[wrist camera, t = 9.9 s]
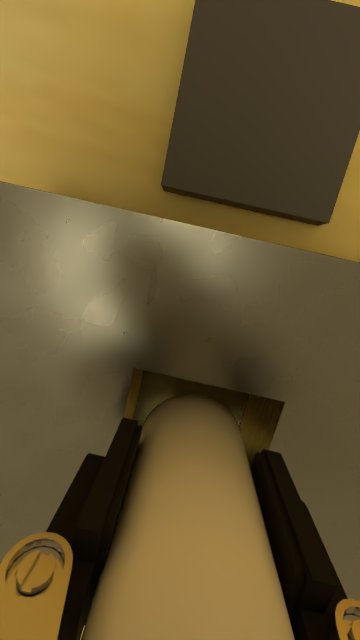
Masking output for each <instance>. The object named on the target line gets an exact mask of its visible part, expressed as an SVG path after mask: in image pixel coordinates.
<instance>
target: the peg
mask: <svg viewBox="0 0 360 640" xmlns="http://www.w3.org/2000/svg"><path fill="white" fill-rule="evenodd" d="M81 640H295V638H294V634H293V630H292V627H291V623H290V619H289V615H288V611H287V608H286V604H285V600H284V596H283V592H282V588H281V585H280V581H279V577H278V573H277V569H276V565H275V562H274V558H273V554H272V550H271V546H270V542H269V539H268V535H267V531H266V527H265V523H264V519H263V516H262V512H261V508H260V504H259V500H258V496H257V493H256V489H255V485H254V481H253V477H252V473H251V470H250V466H249V462H248V458H247V454H246V450H245V447H244V443H243V439H242V435H241V431H240V428H239V425H238V422H237V421H236V419H235V417H234V416H233V414H232V413H231V412H230V411H229V410H228V409H227V408H226V407H225V406H223V405H222V404H221V403H219V402H217V401H216V400H213V399H211V398H208V397H205V396H201V395H190V394H189V395H180V396H175V397H172V398H169V399H167V400H165V401H163V402H162V403H160V404H159V405H157V406H156V407H155V408H154V409H153V410H152V411H151V412H150V414H149V415H148V417H147V418H146V420H145V423H144V426H143V429H142V433H141V438H140V442H139V447H138V450H137V454H136V457H135V461H134V464H133V468H132V471H131V475H130V478H129V482H128V486H127V489H126V493H125V496H124V500H123V503H122V507H121V510H120V514H119V517H118V521H117V524H116V528H115V531H114V535H113V538H112V542H111V545H110V549H109V552H108V556H107V559H106V563H105V566H104V569H103V571H102V573H101V575H100V577H99V580H98V583H97V587H96V590H95V594H94V597H93V600H92V604H91V607H90V611H89V614H88V618H87V621H86V624H85V628H84V631H83V635H82V638H81Z"/></svg>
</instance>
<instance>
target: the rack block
mask: <svg viewBox="0 0 360 640" xmlns="http://www.w3.org/2000/svg"><path fill="white" fill-rule="evenodd" d="M143 370H146V371H150V372H155V373H159V374H164V375H168V376H172V377H177V378H181V379H186V380H190V381H195V382H199V383H204V384H208V385H212V386H217V387H221V388H226V389H230V390H235V391H239V392H244V393H248V394H249V398H248V401H247V404H246V407H245V411H244V414H243V417H242V420H241V424H240V427H239V428H240V431H241V435H242V439H243V443H244V447H245V450H246V454H247V458H248V462H249V466H250V469H251V466H252V463H253V460H254V457H255V455H256V453H257V452H259V453H261V451H262V450H263V449H266V450H270V451H275V452H279V453H281V455H282V457H283V459H284V462H285V464H286V466H287V469H288V471H289V473H290V475H291V478H292V480H293V482H294V485H295V487H296V489H297V492H298V494H299V496H300V499H301V500H302V501H303V502H304V503H305V504H306V506H307V508H308V510H309V512H310V515H311V517H312V519H313V521H314V524H315V526H316V528H317V530H318V533H319V535H320V537H321V539H322V542H323V544H324V546H325V548H326V551H327V553H328V555H329V557H330V560H331V562H332V564H333V566H334V569H335V571H336V573H337V575H338V578H339V580H340V582H341V584H342V587H343V589H344V591H345V593H346V596H347V598H348V599H349V598H350V599H354V600H358V601H360V263H359V262H354V261H350V260H345V259H341V258H337V257H332V256H328V255H323V254H319V253H315V252H310V251H306V250H301V249H297V248H293V247H288V246H284V245H279V244H275V243H270V242H266V241H262V240H257V239H253V238H248V237H244V236H240V235H235V234H231V233H226V232H222V231H218V230H213V229H209V228H204V227H200V226H196V225H191V224H187V223H182V222H178V221H173V220H169V219H165V218H160V217H156V216H151V215H147V214H143V213H138V212H134V211H129V210H125V209H121V208H116V207H112V206H107V205H103V204H99V203H94V202H90V201H85V200H81V199H76V198H72V197H68V196H63V195H59V194H54V193H50V192H46V191H41V190H37V189H32V188H28V187H24V186H19V185H15V184H10V183H6V182H2V181H0V564H1V562H2V560H3V559H4V557H5V555H6V554H7V553H8V552H9V551H10V549H11V548H12V547H13V546H14V545H15V544H17V543H18V542H20V541H21V540H23V539H24V538H26V537H28V536H30V535H33V534H36V533H41V532H46V530H47V528H48V526H49V525H50V523H51V521H52V519H53V517H54V515H55V513H56V511H57V509H58V508H59V506H60V504H61V502H62V500H63V498H64V496H65V494H66V493H67V491H68V489H69V487H70V485H71V483H72V481H73V479H74V477H75V476H76V474H77V472H78V470H79V468H80V466H81V464H82V462H83V461H84V459H85V457H86V455H87V454H88V453H91V454H96V455H100V456H106V454H107V452H108V450H109V447H110V445H111V443H112V440H113V438H114V436H115V433H116V431H117V429H118V426H119V424H120V422H121V420H122V418H127V419H132V420H133V419H134V414H135V409H136V404H137V399H138V394H139V389H140V384H141V379H142V374H143Z"/></svg>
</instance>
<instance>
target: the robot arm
mask: <svg viewBox="0 0 360 640" xmlns="http://www.w3.org/2000/svg"><path fill="white" fill-rule="evenodd" d="M137 424H138V421H136V420H132V419H127V418H122V420H121V422H120V424H119V426H118V429H117V431H116V433H115V436H114V438H113V440H112V443H111V445H110V447H109V450H108V452H107V454H106V456H100V455H96V454H91V453H88V454H87V455H86V457H85V459H84V461H83V462H82V464H81V466H80V468H79V470H78V472H77V474H76V476H75V477H74V479H73V481H72V483H71V485H70V487H69V489H68V491H67V493H66V494H65V496H64V498H63V500H62V502H61V504H60V506H59V508H58V509H57V511H56V513H55V515H54V517H53V519H52V521H51V523H50V525H49V526H48V528H47V530H46V532H41V533H36V534H33V535H30V536H28V537H26V538H24V539H23V540H21V541H20V542H18V543H17V544H15V545H14V546H13V547H12V548H11V549H10V551H9V552H8V553H7V554H6V555H5V557H4V559H3V560H2V562H1V564H0V640H80V638H81V634H82V631H83V628H84V625H85V624H86V621H87V618H88V614H89V611H90V607H91V604H92V600H93V597H94V594H95V590H96V587H97V583H98V580H99V577H100V575H101V573H102V571H103V569H104V566H105V563H106V559H107V556H108V552H109V549H110V545H111V542H112V538H113V535H114V531H115V528H116V524H117V521H118V517H119V514H120V510H121V507H122V503H123V500H124V496H125V493H126V489H127V486H128V482H129V478H130V475H131V471H132V468H133V464H134V461H135V457H136V454H137V450H138V447H139V442H140V438H141V433H142V428H143V426H138V425H137ZM250 470H251V473H252V477H253V481H254V485H255V489H256V493H257V496H258V500H259V504H260V508H261V512H262V516H263V519H264V523H265V527H266V531H267V535H268V539H269V542H270V546H271V550H272V554H273V558H274V562H275V565H276V569H277V573H278V577H279V581H280V585H281V588H282V592H283V596H284V600H285V604H286V608H287V611H288V615H289V619H290V623H291V627H292V630H293V634H294V638H295V640H360V601H358V600H354V599H350V598H349V599H348V598H347V596H346V593H345V591H344V589H343V587H342V584H341V582H340V580H339V578H338V575H337V573H336V571H335V569H334V566H333V564H332V562H331V560H330V557H329V555H328V553H327V551H326V548H325V546H324V544H323V542H322V539H321V537H320V535H319V533H318V530H317V528H316V526H315V524H314V521H313V519H312V517H311V515H310V512H309V510H308V508H307V506H306V504H305V503H304V502H303V501H302V500H301V499H300V496H299V494H298V492H297V489H296V487H295V485H294V482H293V480H292V478H291V475H290V473H289V471H288V469H287V466H286V464H285V462H284V459H283V457H282V455H281V453H279V452H275V451H270V450H266V449H263V450H262V451H261V453H259V452H257V453H256V455H255V457H254V460H253V463H252V466H251V469H250Z"/></svg>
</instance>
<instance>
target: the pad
mask: <svg viewBox="0 0 360 640" xmlns="http://www.w3.org/2000/svg"><path fill="white" fill-rule="evenodd" d="M359 130H360V7H357V6H353V5H348V4H344V3H339V2H335V1H331V0H196V1H195V6H194V11H193V17H192V22H191V27H190V33H189V38H188V43H187V49H186V54H185V59H184V65H183V70H182V76H181V81H180V86H179V92H178V97H177V102H176V108H175V113H174V118H173V124H172V129H171V134H170V140H169V145H168V150H167V156H166V161H165V166H164V172H163V177H162V183H161V186H162V188H163V190H164V191H169V192H173V193H178V194H182V195H186V196H191V197H195V198H200V199H204V200H208V201H213V202H217V203H222V204H226V205H230V206H235V207H239V208H244V209H248V210H252V211H257V212H261V213H266V214H270V215H275V216H279V217H283V218H288V219H292V220H297V221H301V222H305V223H310V224H314V225H323V224H327V223H329V221H330V218H331V215H332V212H333V209H334V206H335V203H336V200H337V197H338V194H339V191H340V188H341V185H342V182H343V179H344V176H345V173H346V170H347V167H348V164H349V161H350V158H351V155H352V152H353V149H354V146H355V143H356V140H357V137H358V133H359Z"/></svg>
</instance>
